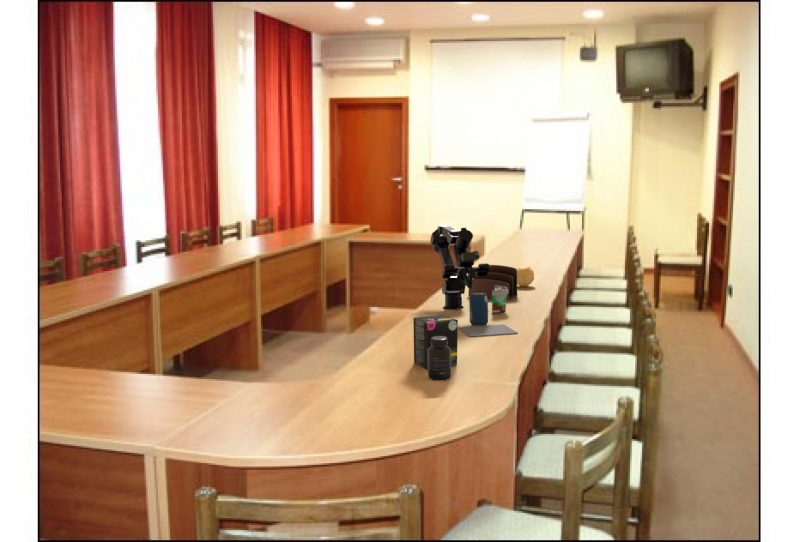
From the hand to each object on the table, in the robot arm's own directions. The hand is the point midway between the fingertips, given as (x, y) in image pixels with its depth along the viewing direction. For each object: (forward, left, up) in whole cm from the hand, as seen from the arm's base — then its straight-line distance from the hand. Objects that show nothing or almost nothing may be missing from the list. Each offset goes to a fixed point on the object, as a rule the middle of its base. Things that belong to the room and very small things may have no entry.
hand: (470, 288), depth 297 cm
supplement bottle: (+41, -67, -13) cm, 79 cm away
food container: (+1, +19, -13) cm, 23 cm away
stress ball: (-25, +74, -13) cm, 79 cm away
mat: (+17, -11, -12) cm, 24 cm away
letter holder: (-21, +44, -13) cm, 50 cm away
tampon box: (+31, -57, -13) cm, 66 cm away
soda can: (+9, -6, -12) cm, 16 cm away
